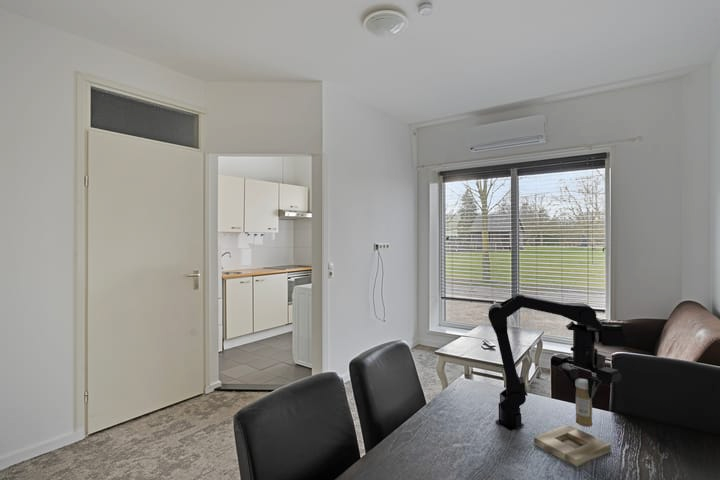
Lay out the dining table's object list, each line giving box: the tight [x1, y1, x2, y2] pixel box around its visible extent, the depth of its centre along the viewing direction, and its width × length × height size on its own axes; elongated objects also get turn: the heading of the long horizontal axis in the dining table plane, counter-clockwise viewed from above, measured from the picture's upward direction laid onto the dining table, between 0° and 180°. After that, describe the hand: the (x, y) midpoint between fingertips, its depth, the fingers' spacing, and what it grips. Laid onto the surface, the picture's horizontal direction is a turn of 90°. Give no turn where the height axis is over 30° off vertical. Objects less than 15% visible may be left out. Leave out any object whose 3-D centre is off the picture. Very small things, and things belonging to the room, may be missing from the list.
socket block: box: [533, 423, 612, 468], centre depth 108 cm, size 13×16×2 cm
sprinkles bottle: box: [575, 378, 593, 428], centre depth 114 cm, size 5×5×14 cm
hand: (583, 394), depth 114 cm, fingers closed on sprinkles bottle, 4 cm apart
